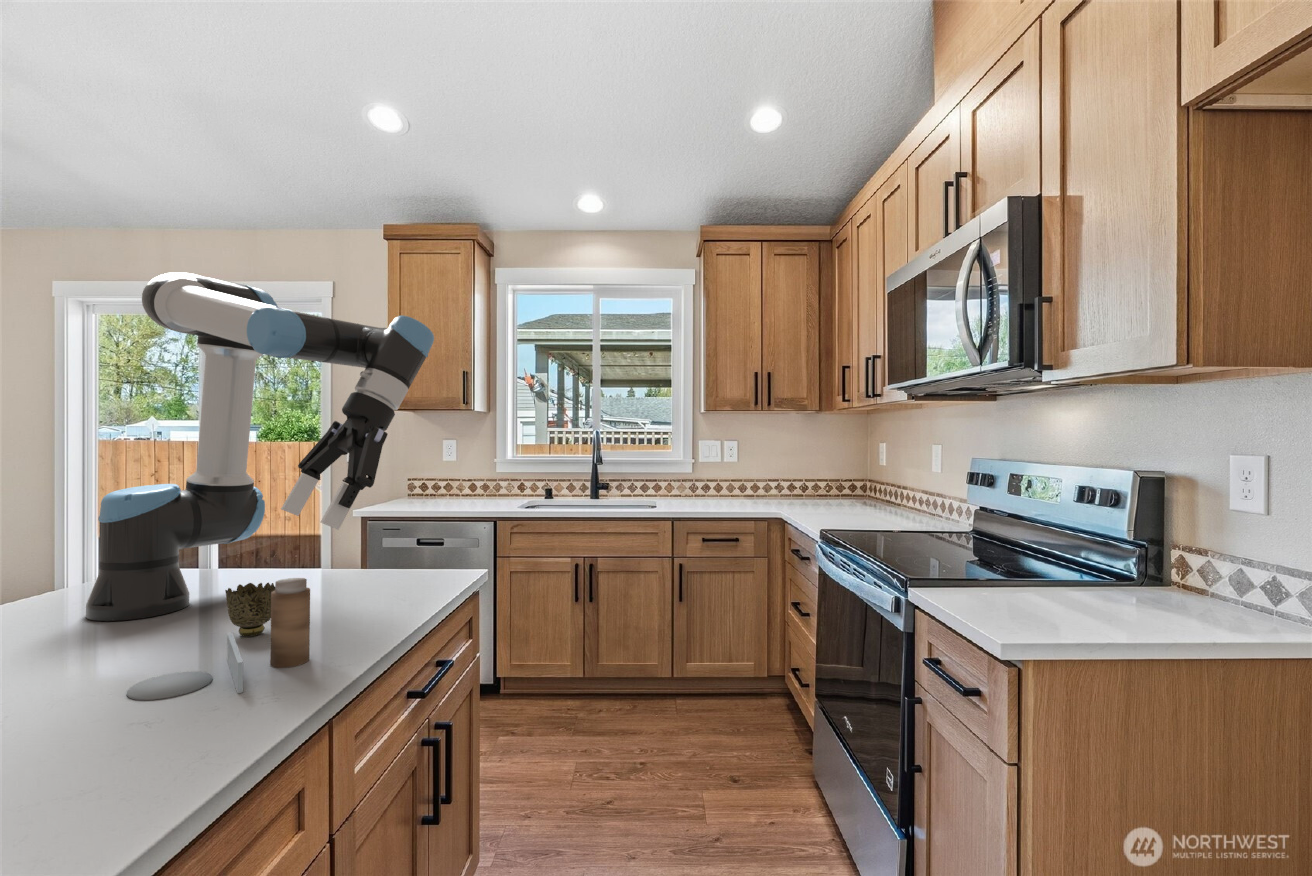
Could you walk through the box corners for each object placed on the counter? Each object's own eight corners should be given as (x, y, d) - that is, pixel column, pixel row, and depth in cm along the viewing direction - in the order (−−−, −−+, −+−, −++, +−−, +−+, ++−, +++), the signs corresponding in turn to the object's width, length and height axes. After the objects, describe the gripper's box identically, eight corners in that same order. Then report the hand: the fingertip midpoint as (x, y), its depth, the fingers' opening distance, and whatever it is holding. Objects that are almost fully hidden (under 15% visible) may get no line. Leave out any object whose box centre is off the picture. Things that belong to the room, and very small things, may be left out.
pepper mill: (268, 660, 93) (269, 579, 93) (305, 653, 96) (307, 575, 96) (272, 670, 89) (274, 586, 89) (312, 662, 92) (313, 581, 92)
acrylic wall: (227, 660, 93) (227, 633, 93) (231, 659, 93) (232, 632, 93) (237, 693, 81) (237, 662, 81) (242, 692, 82) (243, 661, 82)
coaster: (128, 683, 84) (128, 681, 84) (210, 668, 90) (210, 666, 90) (125, 706, 77) (125, 703, 77) (214, 688, 83) (214, 686, 83)
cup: (251, 643, 101) (252, 593, 101) (213, 639, 102) (214, 590, 102) (287, 629, 108) (288, 583, 108) (251, 626, 109) (252, 580, 109)
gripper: (319, 387, 109) (253, 498, 102) (396, 392, 94) (324, 522, 87) (356, 409, 115) (295, 516, 108) (435, 416, 99) (370, 541, 92)
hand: (308, 519), depth 97 cm, fingers open, 13 cm apart
